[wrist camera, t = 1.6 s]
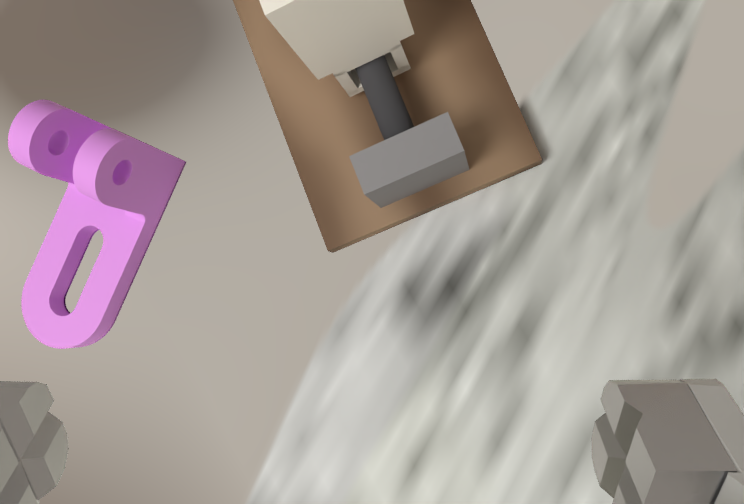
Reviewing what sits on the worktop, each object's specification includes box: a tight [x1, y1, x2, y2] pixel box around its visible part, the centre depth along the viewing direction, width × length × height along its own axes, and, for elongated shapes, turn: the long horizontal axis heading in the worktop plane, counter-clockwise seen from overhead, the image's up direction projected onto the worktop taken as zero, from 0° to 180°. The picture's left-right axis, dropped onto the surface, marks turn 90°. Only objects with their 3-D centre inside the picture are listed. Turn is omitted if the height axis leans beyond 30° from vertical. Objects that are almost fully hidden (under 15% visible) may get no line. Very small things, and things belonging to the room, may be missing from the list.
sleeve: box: [259, 0, 414, 97], centre depth 28 cm, size 5×4×10 cm
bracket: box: [8, 100, 186, 349], centre depth 35 cm, size 13×6×7 cm, turn 156°
